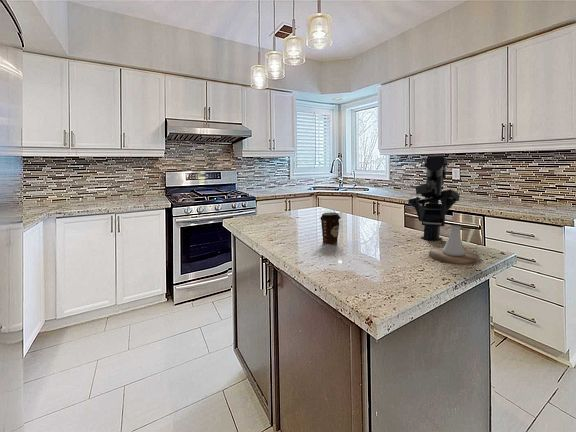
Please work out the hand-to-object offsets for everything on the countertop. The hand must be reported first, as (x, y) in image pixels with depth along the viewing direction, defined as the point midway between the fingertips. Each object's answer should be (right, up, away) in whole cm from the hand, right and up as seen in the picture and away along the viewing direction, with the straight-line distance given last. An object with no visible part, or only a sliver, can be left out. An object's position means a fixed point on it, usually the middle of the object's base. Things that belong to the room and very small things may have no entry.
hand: (430, 219), depth 122 cm
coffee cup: (-37, -11, +14) cm, 41 cm away
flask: (+4, -12, -9) cm, 16 cm away
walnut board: (+4, -13, -9) cm, 17 cm away
